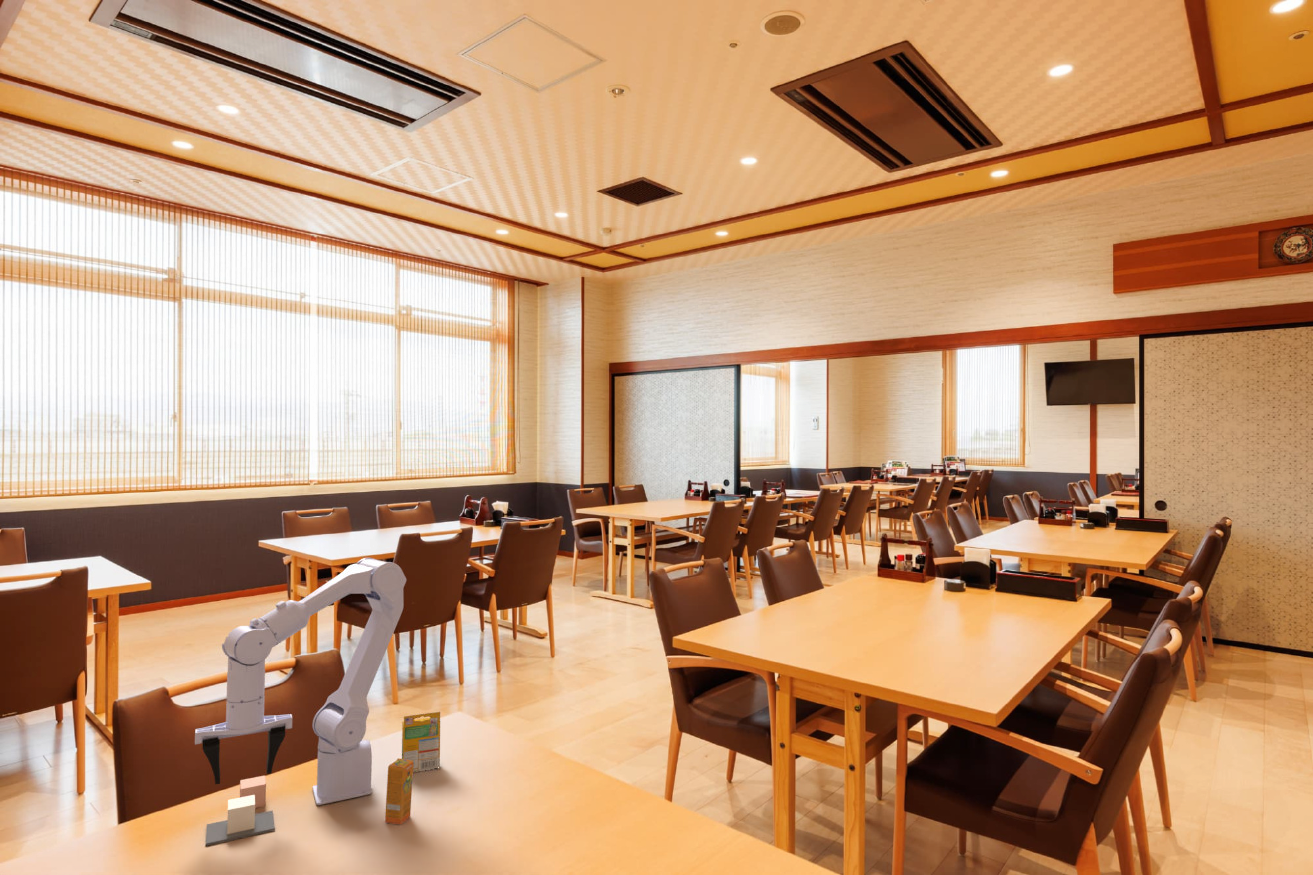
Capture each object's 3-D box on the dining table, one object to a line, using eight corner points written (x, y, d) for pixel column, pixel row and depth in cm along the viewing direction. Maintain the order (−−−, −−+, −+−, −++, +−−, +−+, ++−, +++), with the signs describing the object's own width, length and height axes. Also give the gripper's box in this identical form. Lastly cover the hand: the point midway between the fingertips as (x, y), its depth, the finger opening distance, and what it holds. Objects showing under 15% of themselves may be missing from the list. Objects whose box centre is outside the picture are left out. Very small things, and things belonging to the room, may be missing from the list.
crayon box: (438, 763, 149) (439, 707, 150) (439, 769, 147) (441, 711, 147) (401, 768, 146) (402, 711, 147) (402, 774, 144) (403, 716, 144)
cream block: (254, 828, 122) (255, 804, 122) (227, 834, 120) (227, 809, 120) (254, 817, 125) (254, 794, 125) (227, 823, 123) (228, 799, 123)
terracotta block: (264, 796, 134) (264, 775, 134) (265, 806, 131) (266, 784, 131) (239, 802, 132) (240, 780, 132) (240, 811, 128) (240, 789, 129)
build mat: (272, 812, 128) (272, 810, 128) (274, 830, 122) (274, 828, 122) (206, 826, 123) (206, 824, 123) (205, 846, 117) (205, 843, 117)
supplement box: (402, 825, 124) (403, 767, 124) (384, 823, 125) (385, 765, 125) (412, 816, 127) (414, 759, 128) (395, 814, 128) (396, 757, 128)
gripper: (290, 684, 131) (288, 759, 131) (196, 697, 124) (194, 776, 123) (294, 695, 125) (292, 774, 125) (195, 710, 118) (193, 793, 117)
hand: (243, 776), depth 124 cm, fingers open, 7 cm apart
